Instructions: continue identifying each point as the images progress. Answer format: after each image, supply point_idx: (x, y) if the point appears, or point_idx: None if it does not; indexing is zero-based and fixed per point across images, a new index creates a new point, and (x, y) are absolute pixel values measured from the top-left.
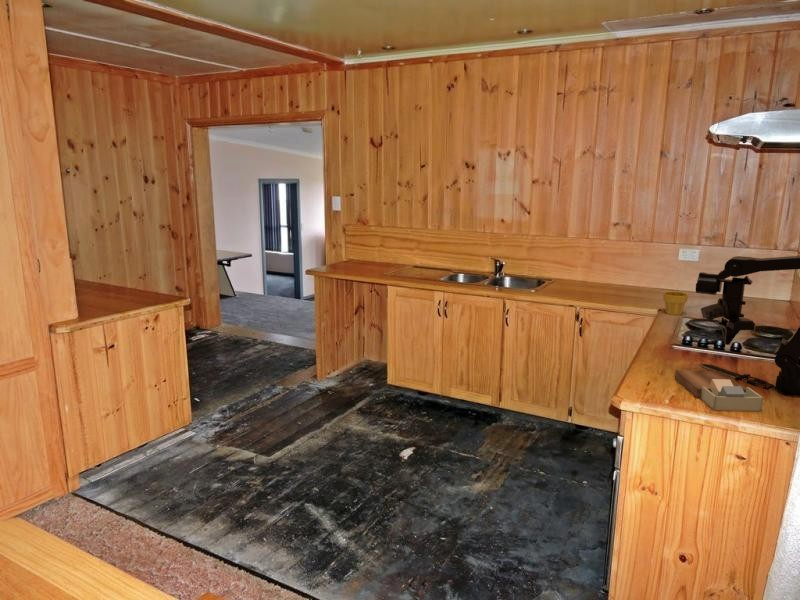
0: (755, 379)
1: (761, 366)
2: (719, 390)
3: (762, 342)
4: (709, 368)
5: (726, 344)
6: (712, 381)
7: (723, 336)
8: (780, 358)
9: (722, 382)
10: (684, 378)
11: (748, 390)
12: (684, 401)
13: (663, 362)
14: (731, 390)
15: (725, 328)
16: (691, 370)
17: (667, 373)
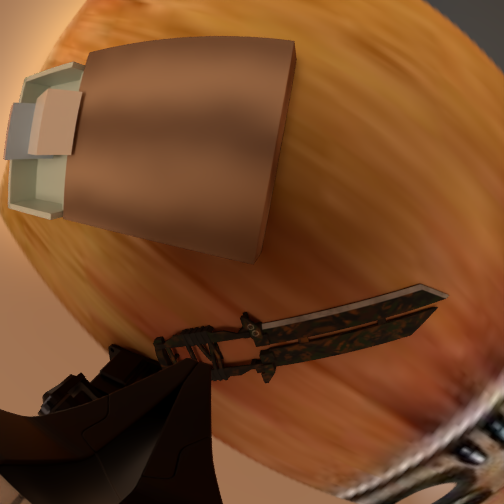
0: (219, 366)
1: (345, 451)
2: (36, 102)
3: (449, 492)
4: (387, 297)
5: (186, 361)
6: (52, 90)
7: (194, 406)
8: (48, 401)
9: (38, 121)
10: (189, 38)
11: (46, 210)
12: (104, 26)
13: (493, 157)
14: (8, 124)
15: (4, 414)
16: (281, 112)
17: (370, 71)
